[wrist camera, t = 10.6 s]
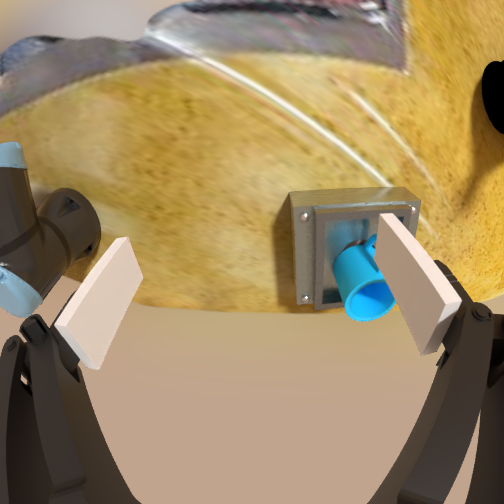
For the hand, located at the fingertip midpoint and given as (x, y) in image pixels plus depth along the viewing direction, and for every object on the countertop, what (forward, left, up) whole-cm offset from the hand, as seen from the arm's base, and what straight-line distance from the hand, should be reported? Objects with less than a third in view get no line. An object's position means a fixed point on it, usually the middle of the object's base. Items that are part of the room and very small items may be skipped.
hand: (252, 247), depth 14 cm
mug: (+14, -17, -23) cm, 32 cm away
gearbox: (+15, -17, -29) cm, 37 cm away
